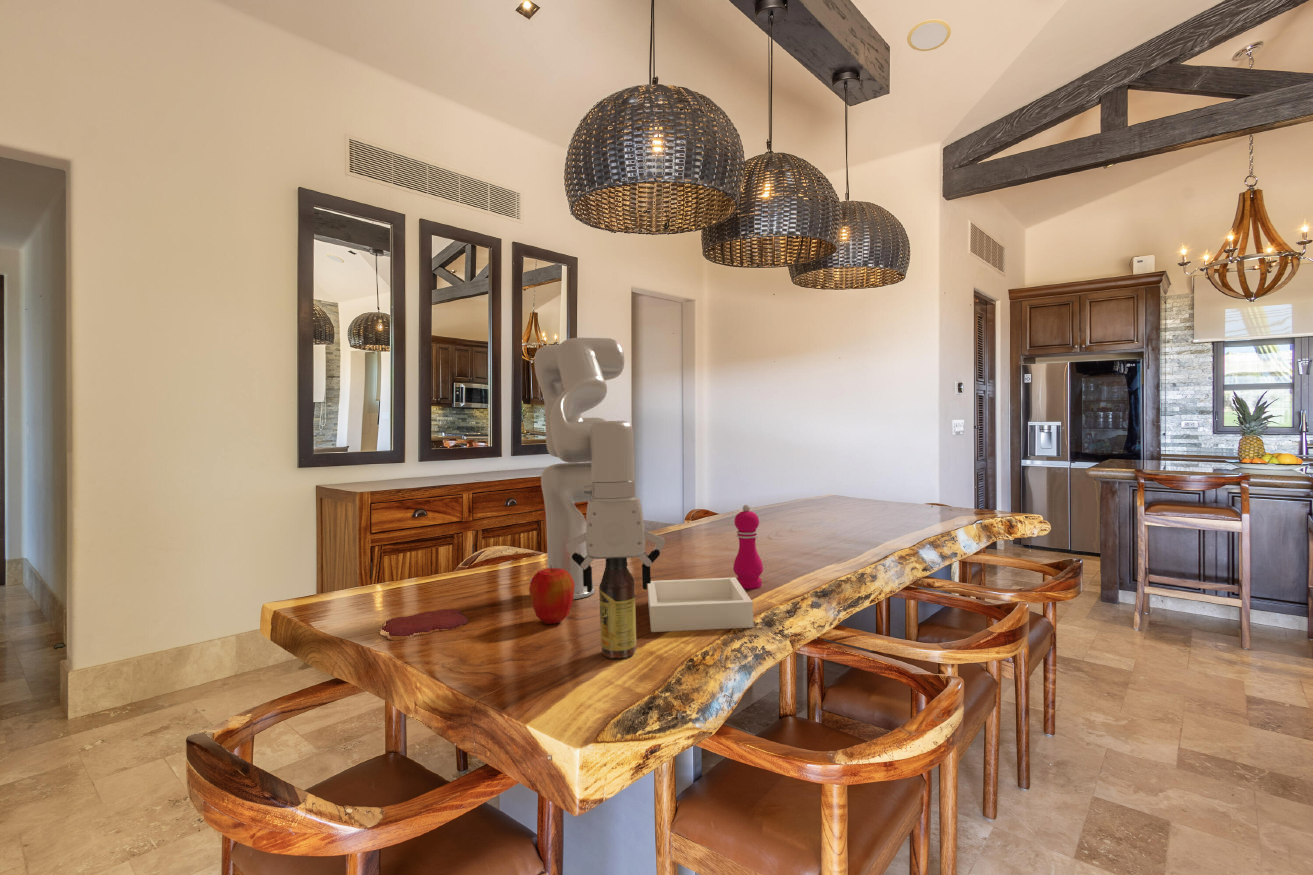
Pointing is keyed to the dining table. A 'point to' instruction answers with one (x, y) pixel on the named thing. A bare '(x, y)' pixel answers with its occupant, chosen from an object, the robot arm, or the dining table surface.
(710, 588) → the tray
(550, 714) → the dining table surface
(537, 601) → the apple
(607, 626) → the sauce bottle
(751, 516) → the pepper mill
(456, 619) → the patty
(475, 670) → the dining table surface
